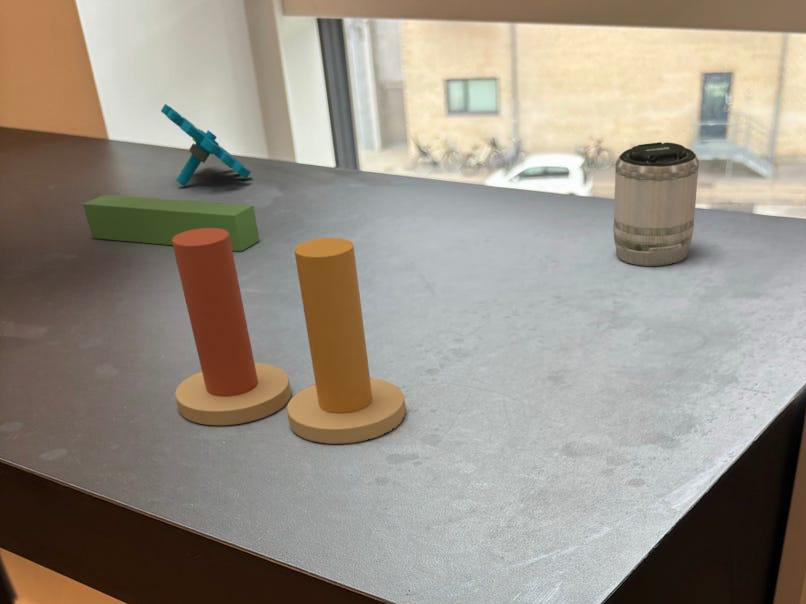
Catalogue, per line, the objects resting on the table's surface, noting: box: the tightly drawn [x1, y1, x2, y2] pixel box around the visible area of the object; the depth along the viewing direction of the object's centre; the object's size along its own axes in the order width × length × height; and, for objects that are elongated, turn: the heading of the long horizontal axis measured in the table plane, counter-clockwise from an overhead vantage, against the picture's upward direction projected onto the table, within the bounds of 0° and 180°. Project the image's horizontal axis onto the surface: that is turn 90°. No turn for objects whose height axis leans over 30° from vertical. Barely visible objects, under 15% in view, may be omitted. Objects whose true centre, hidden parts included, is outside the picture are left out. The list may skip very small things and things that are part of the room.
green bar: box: [82, 194, 260, 253], centre depth 90 cm, size 16×3×3 cm, turn 68°
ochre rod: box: [286, 237, 407, 445], centre depth 58 cm, size 7×7×10 cm
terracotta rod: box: [172, 228, 292, 426], centre depth 60 cm, size 7×7×10 cm
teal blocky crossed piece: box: [160, 103, 251, 188], centre depth 104 cm, size 11×6×10 cm
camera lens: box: [613, 141, 700, 267], centre depth 79 cm, size 6×6×8 cm
